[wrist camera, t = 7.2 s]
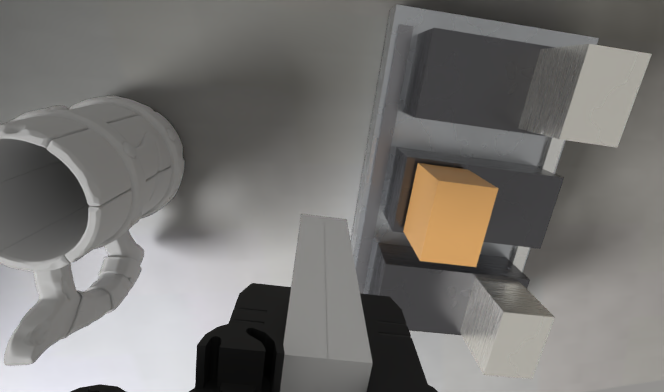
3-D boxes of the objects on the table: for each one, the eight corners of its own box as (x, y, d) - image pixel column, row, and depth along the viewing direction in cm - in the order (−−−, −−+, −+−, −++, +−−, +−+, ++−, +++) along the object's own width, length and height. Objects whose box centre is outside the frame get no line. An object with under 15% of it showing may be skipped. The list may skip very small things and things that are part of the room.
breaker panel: (340, 297, 29) (351, 386, 21) (389, 10, 23) (431, -26, 15) (492, 313, 30) (559, 403, 22) (576, 41, 24) (712, 23, 16)
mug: (183, 94, 24) (63, 112, 12) (202, 263, 27) (121, 397, 16) (58, 93, 24) (-184, 111, 12) (93, 265, 27) (-68, 403, 16)
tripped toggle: (403, 231, 22) (420, 261, 18) (417, 162, 20) (438, 180, 17) (450, 236, 22) (476, 267, 18) (467, 169, 21) (498, 188, 17)
